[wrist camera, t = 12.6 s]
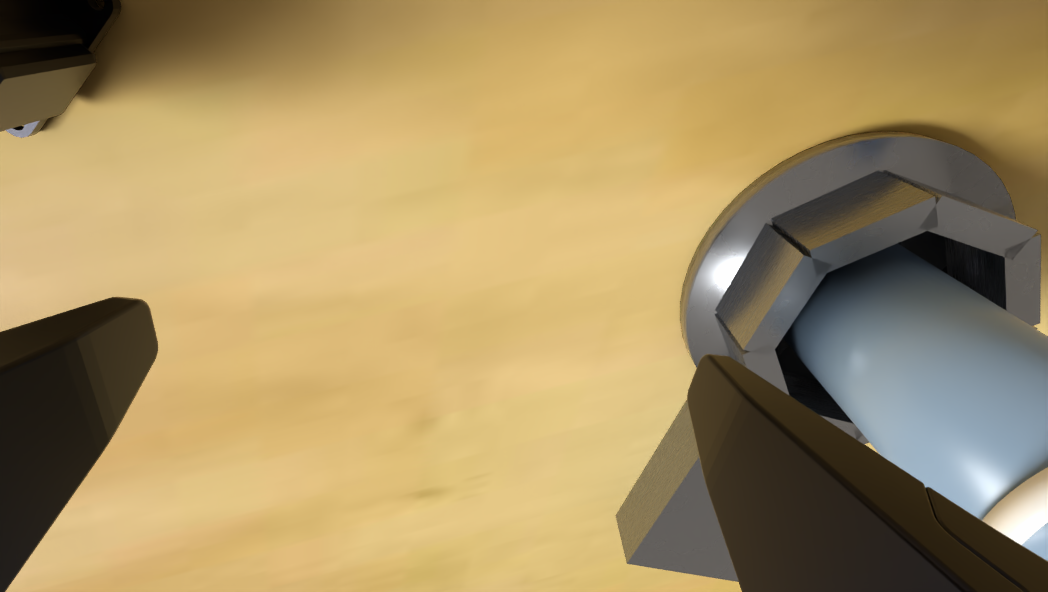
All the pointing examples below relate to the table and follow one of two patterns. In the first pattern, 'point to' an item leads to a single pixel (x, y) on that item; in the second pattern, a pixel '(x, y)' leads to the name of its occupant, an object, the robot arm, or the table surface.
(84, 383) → the robot arm
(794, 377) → the duct collar
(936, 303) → the duct elbow
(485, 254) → the table surface
